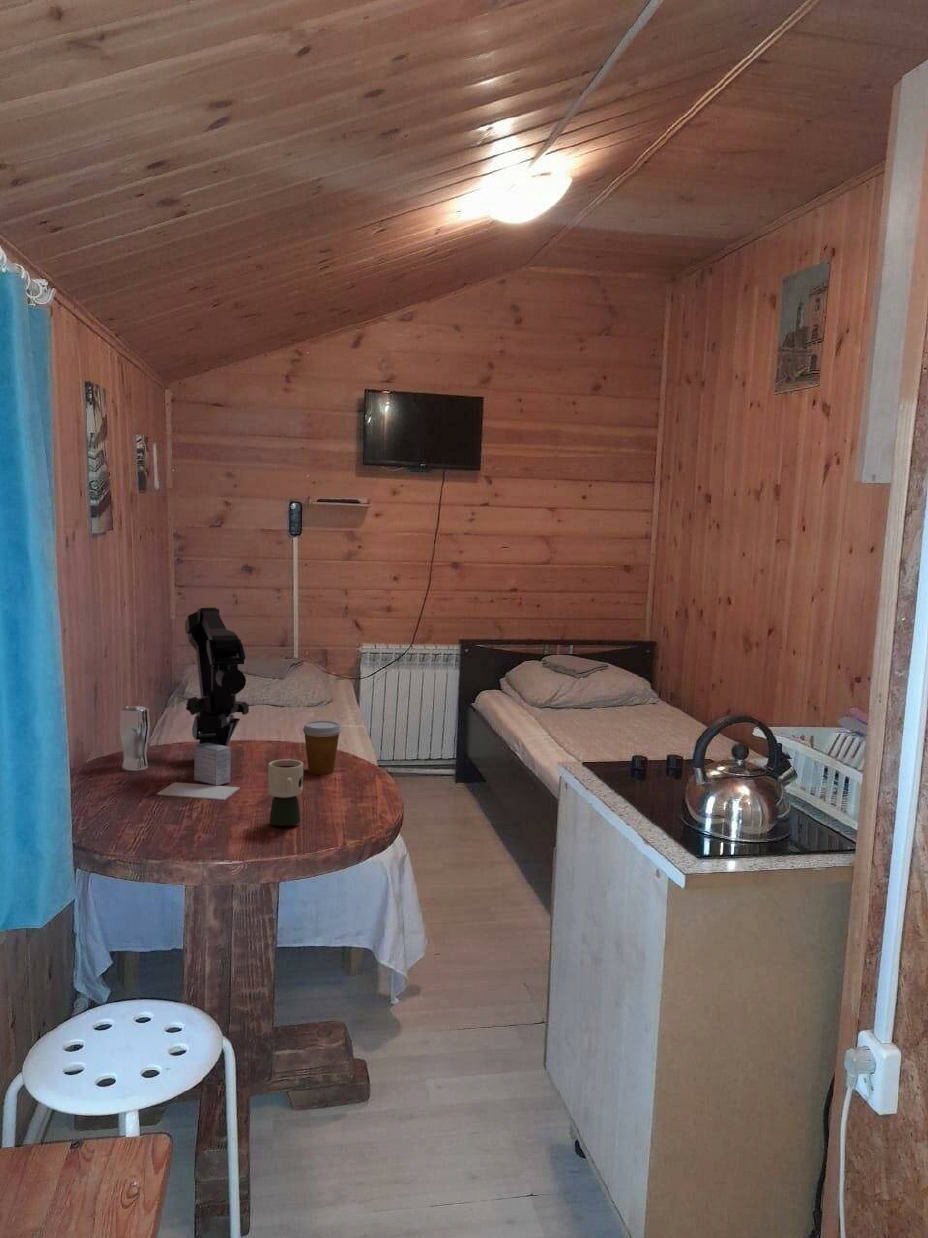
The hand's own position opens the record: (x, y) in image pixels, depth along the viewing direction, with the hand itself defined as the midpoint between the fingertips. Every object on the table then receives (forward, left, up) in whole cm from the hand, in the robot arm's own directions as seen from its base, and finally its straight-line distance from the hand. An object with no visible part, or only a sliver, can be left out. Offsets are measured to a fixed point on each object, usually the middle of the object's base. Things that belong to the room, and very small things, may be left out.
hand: (223, 748), depth 222 cm
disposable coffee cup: (-10, +22, -7) cm, 25 cm away
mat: (+14, 0, -6) cm, 15 cm away
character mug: (+30, +26, -7) cm, 41 cm away
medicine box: (+7, 0, -7) cm, 9 cm away
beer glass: (-1, -23, -7) cm, 24 cm away
